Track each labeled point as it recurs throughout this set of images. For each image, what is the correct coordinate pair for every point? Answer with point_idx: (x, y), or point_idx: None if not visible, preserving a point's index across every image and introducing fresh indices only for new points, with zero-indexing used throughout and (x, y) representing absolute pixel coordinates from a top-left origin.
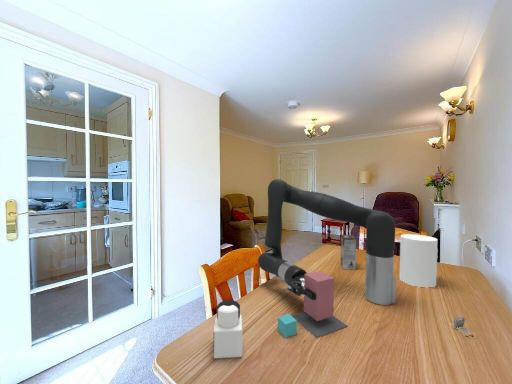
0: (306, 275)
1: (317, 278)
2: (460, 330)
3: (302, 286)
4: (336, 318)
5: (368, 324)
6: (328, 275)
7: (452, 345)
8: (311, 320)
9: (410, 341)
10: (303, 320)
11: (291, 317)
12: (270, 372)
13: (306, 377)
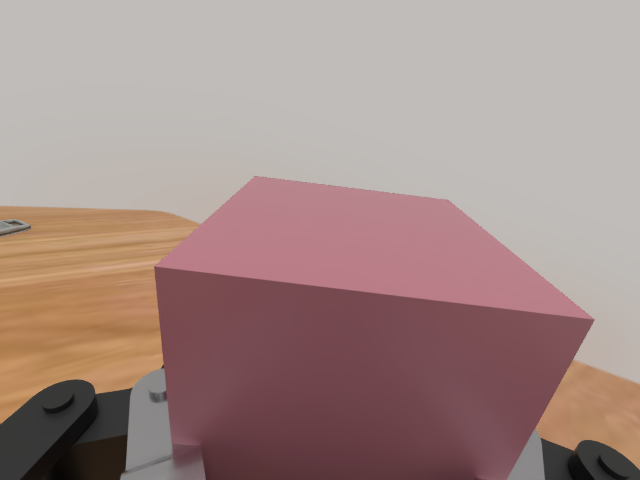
0: (548, 290)
1: (418, 212)
2: (2, 229)
3: (543, 474)
4: None
5: (114, 363)
6: (242, 193)
7: (96, 239)
8: None
9: (145, 275)
10: None
11: None
12: (634, 396)
13: None
